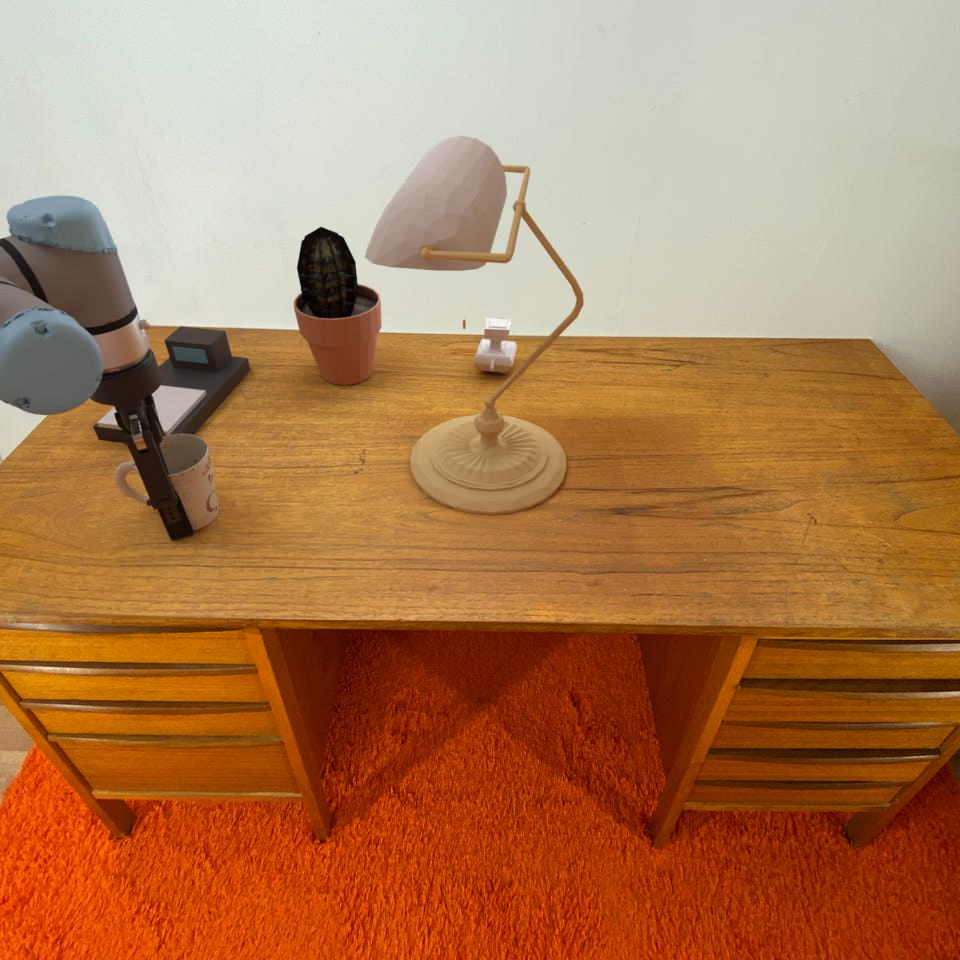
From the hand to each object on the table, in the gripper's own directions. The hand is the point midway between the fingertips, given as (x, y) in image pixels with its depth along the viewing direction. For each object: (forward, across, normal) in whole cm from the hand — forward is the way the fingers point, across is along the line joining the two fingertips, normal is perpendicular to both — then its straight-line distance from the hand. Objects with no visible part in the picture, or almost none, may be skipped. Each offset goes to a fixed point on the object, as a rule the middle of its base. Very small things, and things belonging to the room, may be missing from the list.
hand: (178, 515), depth 82 cm
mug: (0, 0, 0) cm, 1 cm away
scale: (0, +28, -3) cm, 28 cm away
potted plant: (+1, +26, -30) cm, 40 cm away
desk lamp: (+1, -6, -41) cm, 41 cm away
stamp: (+1, +17, -54) cm, 56 cm away
